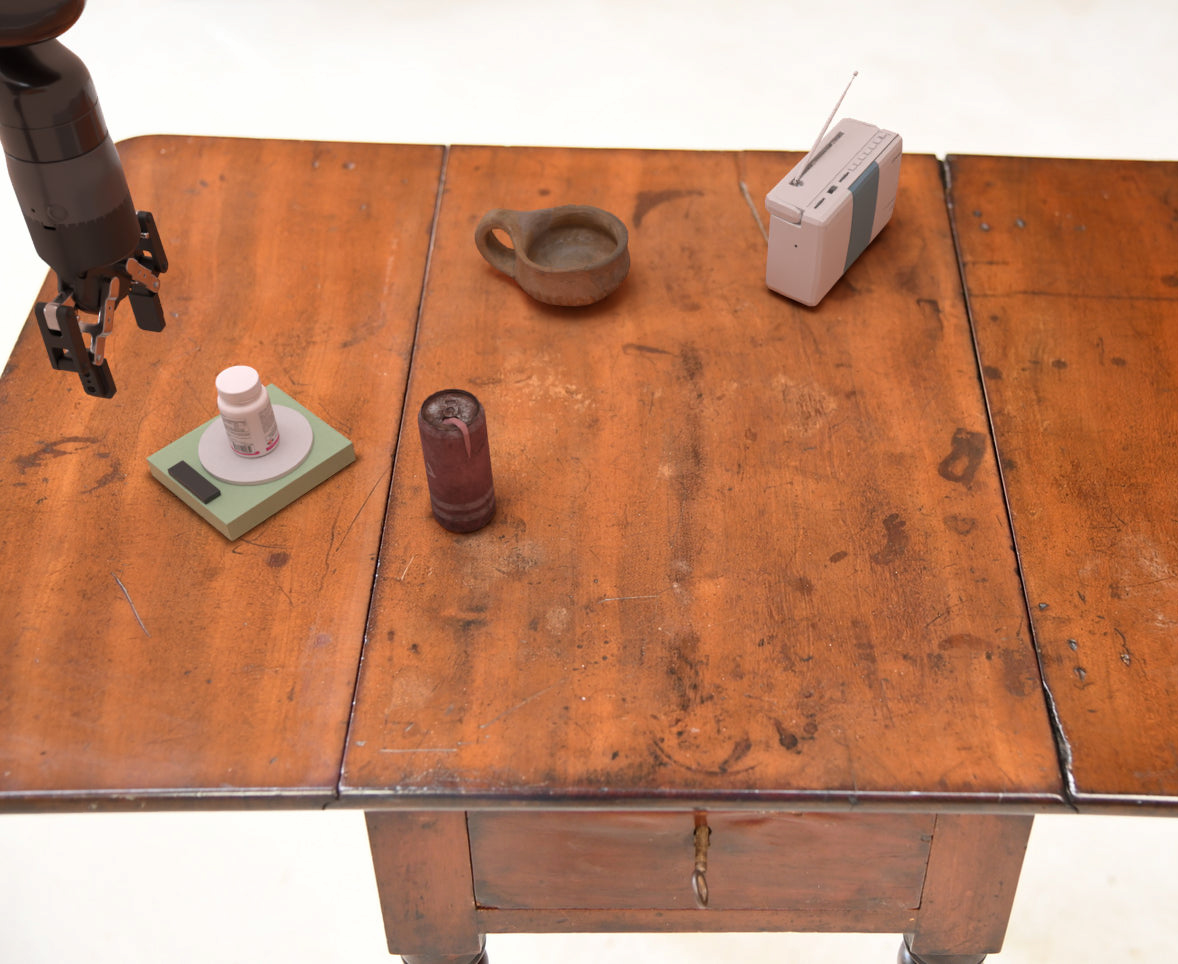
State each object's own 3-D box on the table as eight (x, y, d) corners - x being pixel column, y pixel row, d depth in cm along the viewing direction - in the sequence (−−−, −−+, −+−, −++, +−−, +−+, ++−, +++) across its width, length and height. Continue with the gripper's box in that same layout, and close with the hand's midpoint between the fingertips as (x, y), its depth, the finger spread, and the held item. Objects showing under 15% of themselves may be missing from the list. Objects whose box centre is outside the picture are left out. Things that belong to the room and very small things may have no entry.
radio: (816, 317, 160) (833, 168, 145) (754, 292, 162) (764, 144, 148) (894, 226, 172) (916, 81, 158) (835, 205, 175) (851, 60, 161)
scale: (232, 542, 133) (224, 519, 131) (152, 475, 138) (143, 453, 136) (356, 459, 141) (351, 437, 139) (276, 400, 147) (270, 377, 144)
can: (458, 546, 134) (443, 442, 124) (421, 509, 137) (403, 404, 127) (510, 516, 137) (499, 412, 127) (472, 480, 140) (458, 376, 130)
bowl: (464, 318, 155) (459, 232, 150) (485, 272, 167) (481, 191, 162) (625, 325, 155) (625, 239, 150) (634, 278, 167) (634, 197, 162)
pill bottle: (268, 419, 140) (251, 355, 134) (288, 446, 138) (271, 383, 132) (222, 437, 138) (203, 374, 132) (242, 466, 136) (223, 402, 130)
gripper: (73, 134, 107) (126, 302, 119) (-29, 238, 97) (39, 411, 109) (166, 147, 107) (210, 315, 118) (72, 254, 97) (130, 426, 108)
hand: (128, 361), depth 113 cm, fingers open, 8 cm apart
